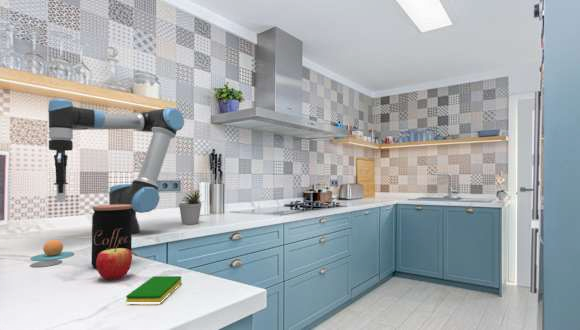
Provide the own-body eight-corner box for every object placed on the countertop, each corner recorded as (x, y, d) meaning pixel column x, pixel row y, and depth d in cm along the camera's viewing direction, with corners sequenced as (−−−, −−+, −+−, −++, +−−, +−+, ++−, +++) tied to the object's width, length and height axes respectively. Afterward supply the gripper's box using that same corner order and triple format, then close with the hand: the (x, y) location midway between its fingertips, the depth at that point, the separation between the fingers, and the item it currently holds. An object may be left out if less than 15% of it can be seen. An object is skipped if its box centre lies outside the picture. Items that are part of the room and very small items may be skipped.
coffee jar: (86, 271, 93) (87, 207, 94) (97, 262, 103) (98, 204, 104) (127, 268, 96) (128, 206, 97) (134, 259, 106) (134, 203, 107)
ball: (63, 255, 111) (65, 251, 116) (61, 239, 111) (62, 236, 116) (43, 260, 109) (45, 255, 113) (40, 243, 108) (43, 240, 113)
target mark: (78, 251, 119) (78, 250, 119) (68, 258, 108) (68, 258, 108) (38, 253, 115) (38, 253, 115) (24, 262, 104) (24, 261, 104)
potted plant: (197, 225, 183) (197, 189, 183) (174, 225, 185) (174, 189, 185) (207, 222, 195) (207, 188, 196) (185, 222, 197) (185, 188, 198)
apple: (137, 277, 87) (138, 239, 87) (102, 285, 81) (103, 244, 81) (124, 271, 93) (125, 236, 93) (91, 279, 86) (91, 240, 87)
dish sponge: (181, 285, 82) (181, 275, 82) (159, 307, 68) (159, 295, 68) (153, 285, 82) (153, 275, 82) (125, 307, 68) (125, 295, 68)
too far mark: (65, 259, 107) (65, 259, 107) (57, 265, 99) (57, 265, 99) (36, 261, 104) (36, 261, 104) (25, 268, 97) (25, 267, 97)
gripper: (51, 141, 130) (51, 201, 129) (46, 137, 118) (46, 203, 118) (73, 141, 134) (74, 199, 133) (71, 138, 122) (71, 202, 122)
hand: (61, 201), depth 126 cm, fingers closed
